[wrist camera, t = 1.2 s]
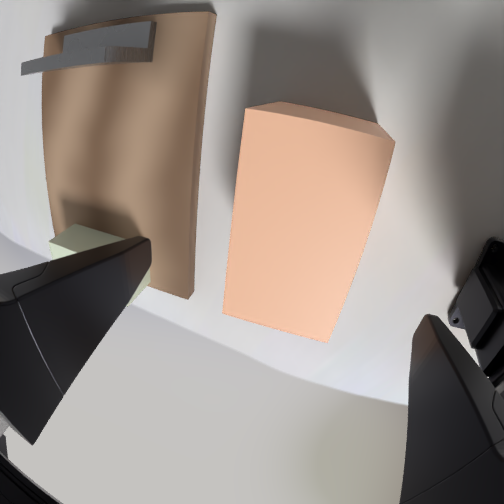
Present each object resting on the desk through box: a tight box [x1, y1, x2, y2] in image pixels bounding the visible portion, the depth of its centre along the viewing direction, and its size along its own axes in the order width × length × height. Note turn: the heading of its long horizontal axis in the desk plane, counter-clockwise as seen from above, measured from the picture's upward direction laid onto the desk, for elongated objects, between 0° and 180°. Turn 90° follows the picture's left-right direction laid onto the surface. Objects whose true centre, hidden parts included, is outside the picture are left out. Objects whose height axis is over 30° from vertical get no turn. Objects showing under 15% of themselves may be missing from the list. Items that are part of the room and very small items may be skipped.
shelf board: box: [42, 11, 217, 299], centre depth 18 cm, size 13×18×1 cm
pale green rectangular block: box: [48, 224, 151, 307], centre depth 20 cm, size 7×3×3 cm, turn 82°
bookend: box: [21, 21, 157, 76], centre depth 12 cm, size 7×2×4 cm, turn 82°
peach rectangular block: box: [222, 101, 395, 343], centre depth 14 cm, size 5×9×6 cm, turn 172°
